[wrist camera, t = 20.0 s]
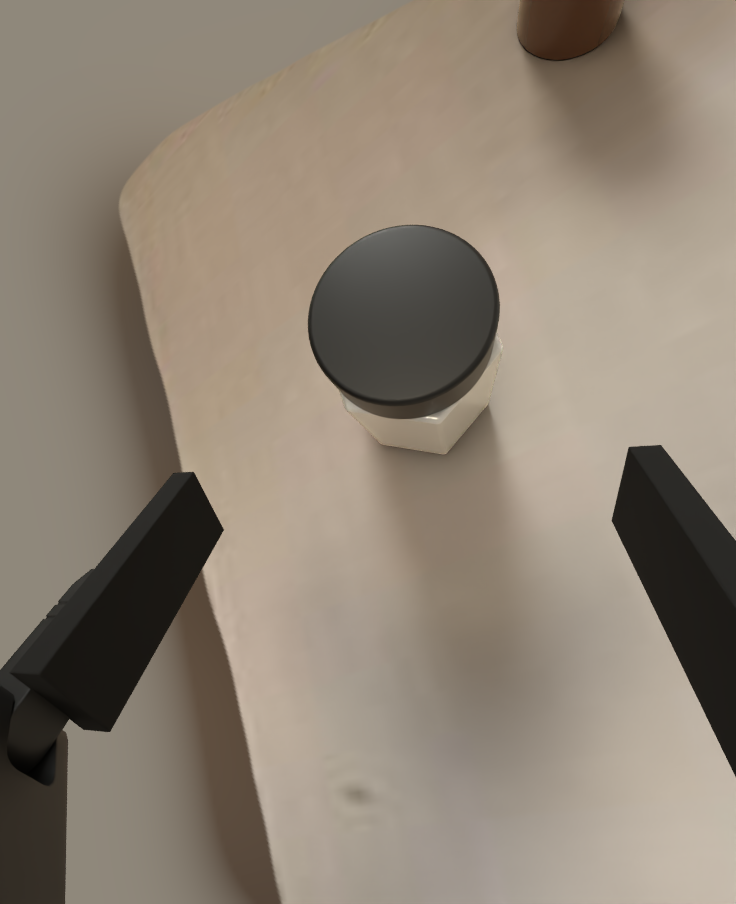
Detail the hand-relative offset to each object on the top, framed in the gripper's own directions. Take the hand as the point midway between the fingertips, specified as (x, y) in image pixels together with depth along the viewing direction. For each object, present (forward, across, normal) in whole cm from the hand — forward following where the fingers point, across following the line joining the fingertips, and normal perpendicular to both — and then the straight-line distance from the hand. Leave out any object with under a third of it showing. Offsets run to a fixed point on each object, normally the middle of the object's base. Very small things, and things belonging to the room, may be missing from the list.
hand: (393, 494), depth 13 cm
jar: (+16, 0, -5) cm, 17 cm away
